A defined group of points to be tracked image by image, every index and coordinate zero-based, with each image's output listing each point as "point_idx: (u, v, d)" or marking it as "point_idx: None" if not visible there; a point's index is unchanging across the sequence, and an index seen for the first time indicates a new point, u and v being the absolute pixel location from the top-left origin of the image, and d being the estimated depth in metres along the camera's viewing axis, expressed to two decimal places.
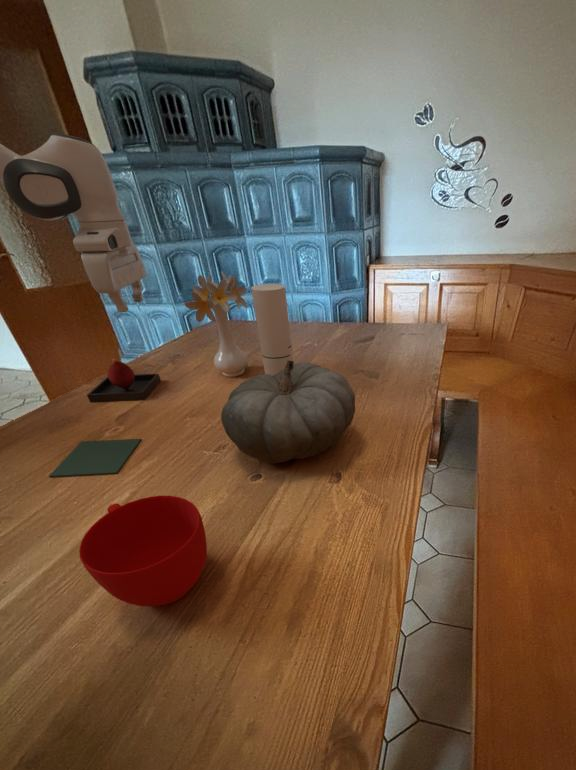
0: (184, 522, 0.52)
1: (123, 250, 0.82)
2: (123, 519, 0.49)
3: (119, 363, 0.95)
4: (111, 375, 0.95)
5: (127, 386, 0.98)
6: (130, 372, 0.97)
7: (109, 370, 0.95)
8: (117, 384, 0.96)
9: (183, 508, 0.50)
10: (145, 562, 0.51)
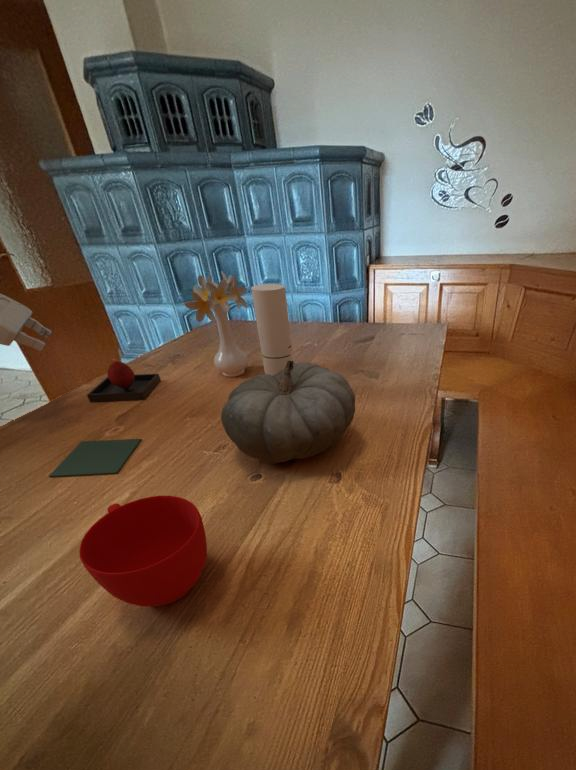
0: (184, 522, 0.52)
1: None
2: (123, 519, 0.49)
3: (119, 363, 0.95)
4: (111, 375, 0.95)
5: (127, 386, 0.98)
6: (130, 372, 0.97)
7: (109, 370, 0.95)
8: (117, 384, 0.96)
9: (183, 508, 0.50)
10: (145, 562, 0.51)
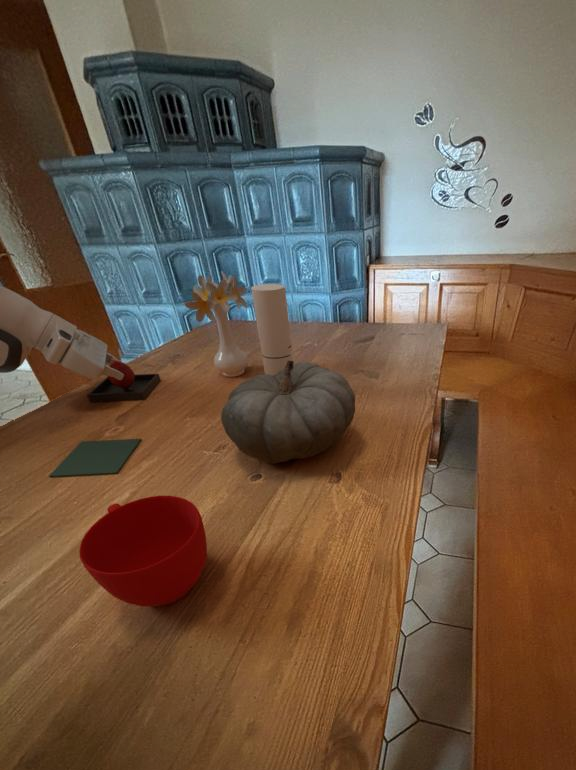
0: (184, 522, 0.52)
1: (76, 336, 0.88)
2: (123, 519, 0.49)
3: (119, 363, 0.95)
4: None
5: (127, 386, 0.98)
6: (130, 372, 0.97)
7: None
8: (117, 384, 0.96)
9: (183, 508, 0.50)
10: (145, 562, 0.51)
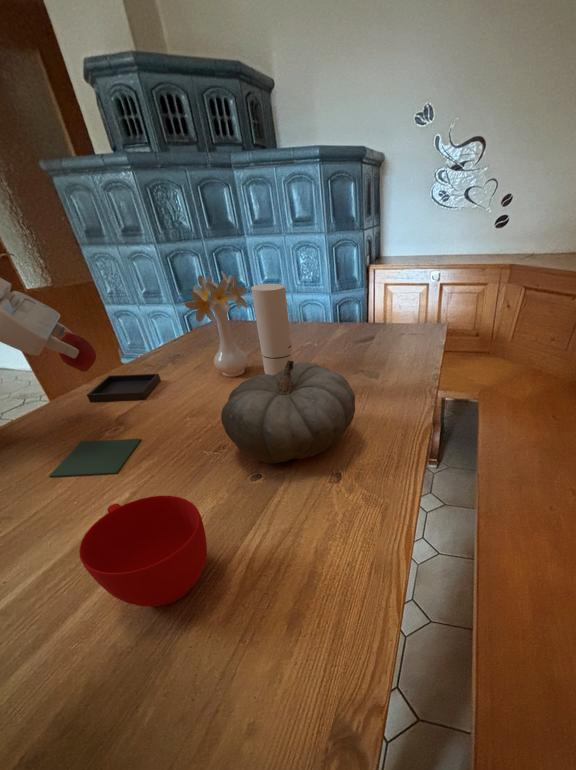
0: (184, 522, 0.52)
1: (10, 296, 0.65)
2: (123, 519, 0.49)
3: (73, 336, 0.72)
4: None
5: (86, 367, 0.75)
6: (89, 348, 0.74)
7: None
8: (71, 364, 0.73)
9: (183, 508, 0.50)
10: (145, 562, 0.51)
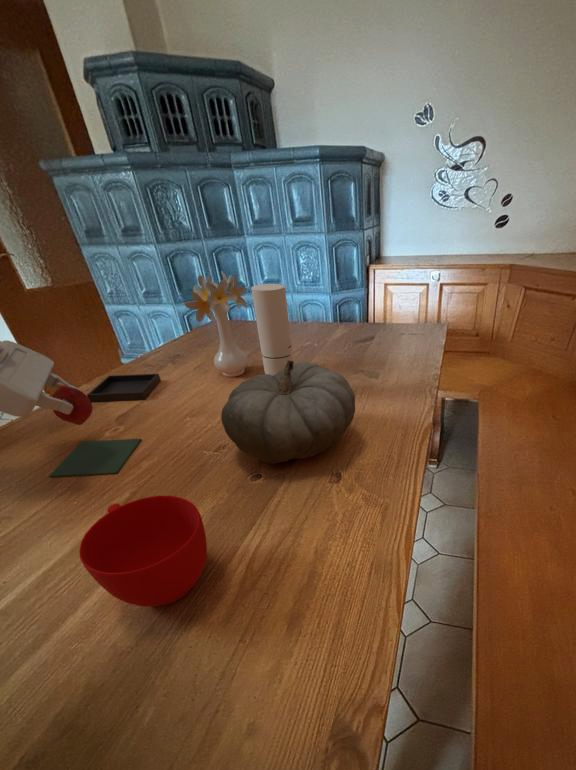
0: (184, 522, 0.52)
1: None
2: (123, 519, 0.49)
3: (68, 389, 0.66)
4: None
5: (81, 421, 0.69)
6: (85, 401, 0.68)
7: None
8: (65, 419, 0.67)
9: (183, 508, 0.50)
10: (145, 562, 0.51)
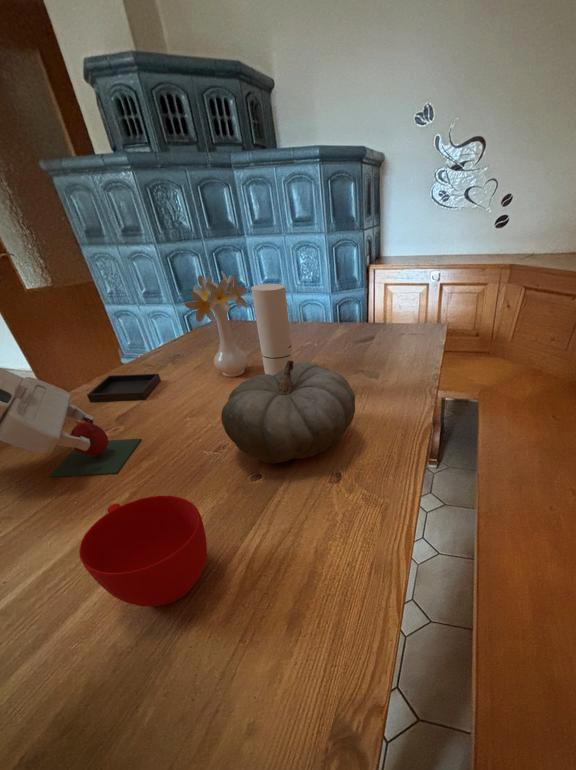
0: (184, 522, 0.52)
1: (21, 392, 0.63)
2: (123, 519, 0.49)
3: (86, 425, 0.70)
4: None
5: (98, 454, 0.73)
6: (101, 436, 0.72)
7: (72, 435, 0.70)
8: (84, 453, 0.71)
9: (183, 508, 0.50)
10: (145, 562, 0.51)
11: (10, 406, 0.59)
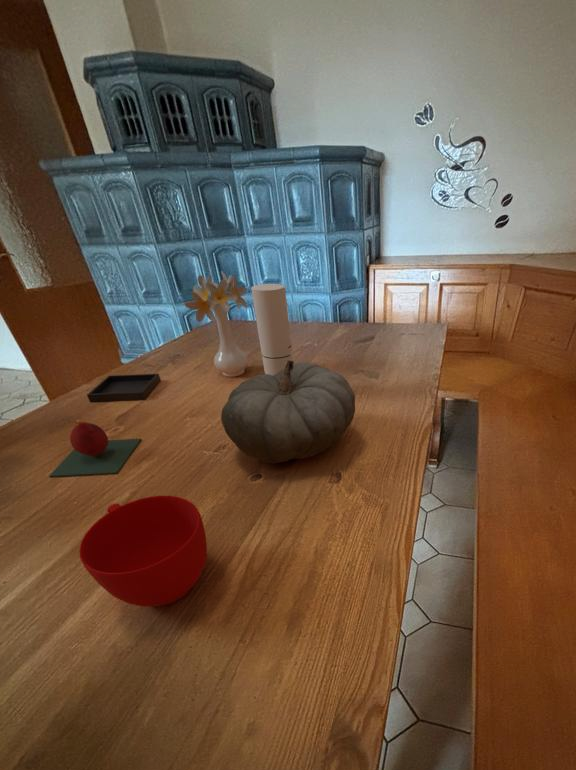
0: (184, 522, 0.52)
1: None
2: (123, 519, 0.49)
3: (86, 425, 0.70)
4: (75, 442, 0.70)
5: (98, 454, 0.73)
6: (101, 436, 0.72)
7: (72, 435, 0.70)
8: (84, 453, 0.71)
9: (183, 508, 0.50)
10: (145, 562, 0.51)
11: None
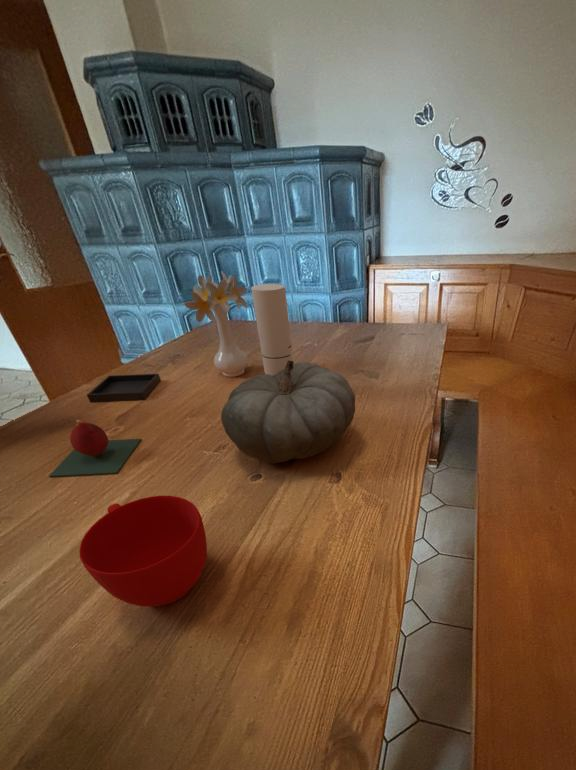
0: (184, 522, 0.52)
1: None
2: (123, 519, 0.49)
3: (86, 425, 0.70)
4: (75, 442, 0.70)
5: (98, 454, 0.73)
6: (101, 436, 0.72)
7: (72, 435, 0.70)
8: (84, 453, 0.71)
9: (183, 508, 0.50)
10: (145, 562, 0.51)
11: None
